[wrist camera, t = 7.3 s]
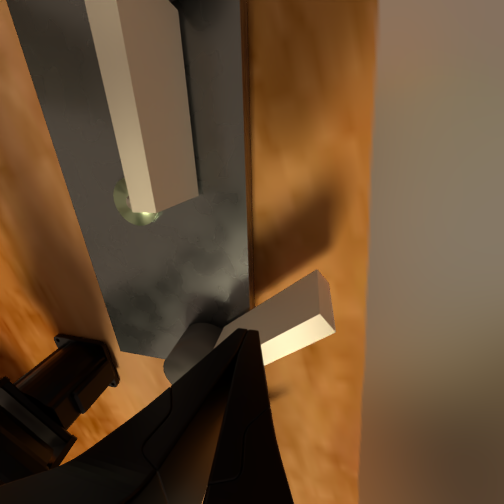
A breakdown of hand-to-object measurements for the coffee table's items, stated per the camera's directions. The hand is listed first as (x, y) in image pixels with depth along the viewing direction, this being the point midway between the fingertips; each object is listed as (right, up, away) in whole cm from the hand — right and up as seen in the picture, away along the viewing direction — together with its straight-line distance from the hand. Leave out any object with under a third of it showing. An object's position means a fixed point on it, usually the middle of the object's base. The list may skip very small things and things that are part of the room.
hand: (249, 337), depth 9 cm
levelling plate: (-6, +7, +8) cm, 12 cm away
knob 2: (0, -2, +8) cm, 8 cm away
